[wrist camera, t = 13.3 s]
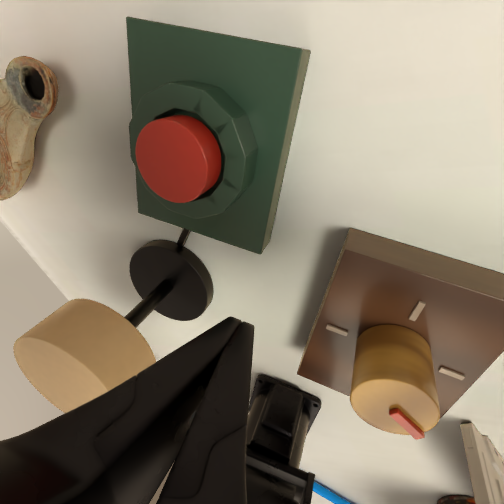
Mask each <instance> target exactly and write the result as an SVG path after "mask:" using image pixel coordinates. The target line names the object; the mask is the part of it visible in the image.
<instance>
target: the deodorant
mask: <svg viewBox="0 0 504 504" xmlns="http://www.w3.org/2000/svg"><path fill="white" fill-rule="evenodd" d="M437 504H476V503H475V498H474V497H470V496H462V495H450V496H446V497H442V498H441V499H439V500H438V502H437Z"/></svg>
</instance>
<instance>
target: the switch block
mask: <svg viewBox="0 0 504 504" xmlns="http://www.w3.org/2000/svg"><path fill="white" fill-rule="evenodd" d="M126 23H127V39H128V56H129V72H130V88H131V104H132V119H131V122H130V124H129V134H130V148H131V158H132V161H133V163H134V165H135V169H136V185H137V201H138V213H141V214H143V215H146V216H149V217H152V218H155V219H158V220H161V221H164V222H167V223H170V224H173V225H176V226H178V227H181V228H184V229H187V230H190V231H193V232H196V233H199V234H202V235H205V236H208V237H211V238H213V239H216V240H219V241H222V242H225V243H228V244H231V245H234V246H237V247H240V248H243V249H246V250H248V251H251V252H254V253H257V254H261V253H262V252H263V250H264V249H265V247H266V246H267V245H268V243H269V242H270V237H271V233H272V228H273V223H274V219H275V214H276V209H277V205H278V200H279V196H280V191H281V186H282V182H283V177H284V172H285V168H286V163H287V159H288V154H289V149H290V145H291V140H292V136H293V131H294V126H295V122H296V117H297V112H298V108H299V103H300V99H301V94H302V89H303V85H304V80H305V76H306V71H307V66H308V62H309V57H310V50H307V49H301V48H296V47H290V46H285V45H279V44H274V43H268V42H263V41H258V40H252V39H247V38H241V37H236V36H230V35H225V34H219V33H214V32H208V31H203V30H197V29H192V28H187V27H181V26H176V25H170V24H165V23H159V22H154V21H148V20H143V19H137V18H132V17H126ZM174 115H187V116H190V117H193V118H195V119H197V120H199V121H200V122H202V123H203V124H204V125H205V126H206V127H207V128H208V129H209V130H210V131H211V133H212V134H213V135H214V137H215V139H216V141H217V143H218V146H219V149H220V153H221V161H222V162H221V171H220V175H219V177H218V180H217V181H216V183H215V184H214V185H213V186H212V187H211V188H210V189H209V190H207V191H206V192H205V193H203V194H202V195H200V196H199V197H197V198H196V199H194V200H192V201H190V202H186V203H175V202H171V201H168V200H166V199H164V198H162V197H160V196H159V195H157V194H156V193H155V192H154V191H153V190H152V189H151V188H150V187H149V186H148V184H147V183H146V182H145V180H144V179H143V177H142V175H141V173H140V170H139V168H138V165H137V160H136V142H137V138H138V136H139V134H140V132H141V130H142V129H143V128H144V127H145V126H146V125H147V124H148V123H150V122H151V121H154V120H157V119H161V118H165V117H170V116H174Z"/></svg>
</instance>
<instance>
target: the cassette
mask: <svg viewBox="0 0 504 504" xmlns="http://www.w3.org/2000/svg"><path fill="white" fill-rule="evenodd" d="M460 427H461V432H462V437H463V442H464V447H465V452H466V457H467V462H468V467H469V473H470V478H471V483H472V488H473V493H474V498H475V503H476V504H504V460H503V458H502V457H501V456H500V454H499V453H498V451H497V450H496V448H495V447H494V445H493V444H492V443H491V441H490V440H489V438H488V437H487V436H482V435H481V434H480V433H479V431H478V430H477V429H476V427H475V426H474V424H473V423H467V424H460Z"/></svg>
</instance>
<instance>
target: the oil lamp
mask: <svg viewBox="0 0 504 504" xmlns="http://www.w3.org/2000/svg"><path fill="white" fill-rule="evenodd" d="M58 92H59V90H58V83H57V78H56V76H55V75H54V73H53V72H52V71H51V70H50V69H49V68H48V67H47V66H46V65H44V64H43V63H42V62H40V61H38V60H36V59H34V58H31V57H26V56H20V57H17V58H14V59H13V60H12V61H11V62H10V63H9V65H8V67H7V69H6V75H5V79H0V200H5V199H8V198H10V197H12V196H13V195H15V194H16V193H17V192H18V191H19V190H20V189H21V188H22V187H23V185H24V184H25V182H26V180H27V178H28V176H29V174H30V172H31V169H32V166H33V161H34V142H35V136H36V133H37V130H38V128H39V126H40V124H41V122H42V121H43V120H44V118H45V117H47V116H48V115H49V114H50V113H51V112H52V111H53V110H54V108H55V106H56V104H57V101H58Z"/></svg>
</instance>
